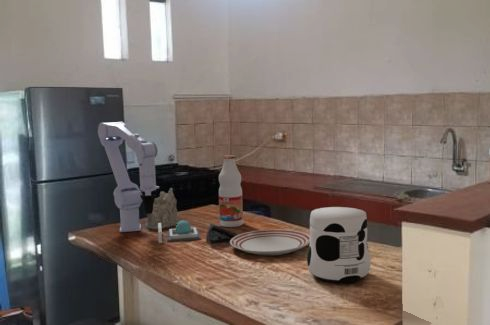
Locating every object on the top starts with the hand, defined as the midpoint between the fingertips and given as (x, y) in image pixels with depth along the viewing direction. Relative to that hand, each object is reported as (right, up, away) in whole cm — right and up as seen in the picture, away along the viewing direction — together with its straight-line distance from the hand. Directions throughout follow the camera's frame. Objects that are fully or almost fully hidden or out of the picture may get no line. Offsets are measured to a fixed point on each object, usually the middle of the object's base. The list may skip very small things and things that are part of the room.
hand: (149, 211), depth 183 cm
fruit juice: (+30, -7, +15) cm, 34 cm away
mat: (+13, -9, -1) cm, 16 cm away
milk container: (+62, -14, -46) cm, 78 cm away
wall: (+4, -10, -2) cm, 11 cm away
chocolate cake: (+27, -10, -8) cm, 30 cm away
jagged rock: (0, -7, +20) cm, 21 cm away
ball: (+13, -6, -2) cm, 14 cm away
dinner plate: (+44, -11, -17) cm, 49 cm away
